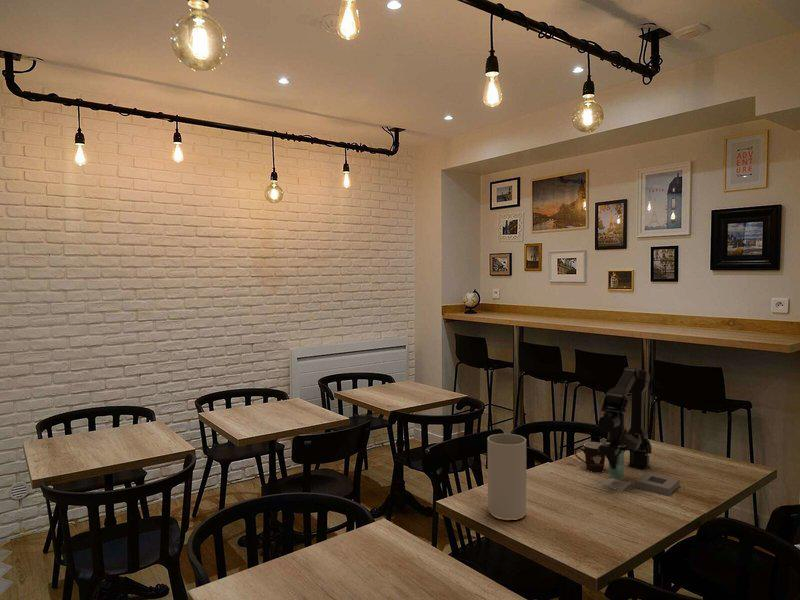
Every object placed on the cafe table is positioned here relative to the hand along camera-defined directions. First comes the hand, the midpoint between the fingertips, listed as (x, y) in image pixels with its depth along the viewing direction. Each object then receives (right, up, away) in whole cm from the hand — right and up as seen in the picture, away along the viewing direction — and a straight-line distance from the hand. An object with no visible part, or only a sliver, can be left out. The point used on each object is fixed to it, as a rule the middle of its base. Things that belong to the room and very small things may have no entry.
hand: (616, 467), depth 205 cm
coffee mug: (-3, -6, +17) cm, 18 cm away
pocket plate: (+14, -7, -2) cm, 16 cm away
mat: (0, -7, 0) cm, 7 cm away
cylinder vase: (-45, -9, -23) cm, 51 cm away
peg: (0, -4, 0) cm, 4 cm away
